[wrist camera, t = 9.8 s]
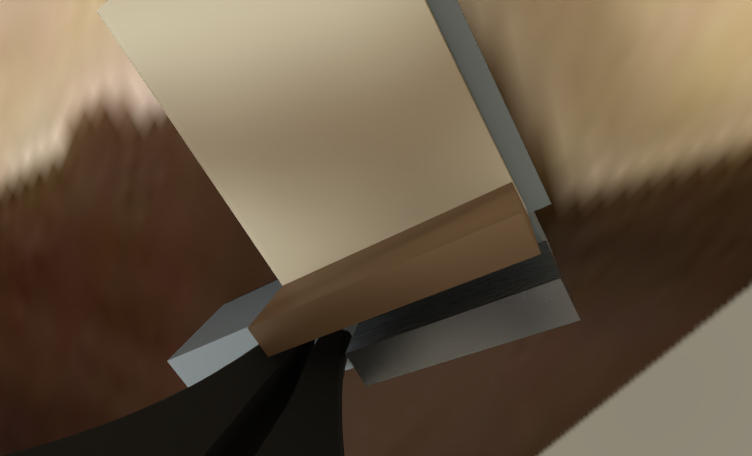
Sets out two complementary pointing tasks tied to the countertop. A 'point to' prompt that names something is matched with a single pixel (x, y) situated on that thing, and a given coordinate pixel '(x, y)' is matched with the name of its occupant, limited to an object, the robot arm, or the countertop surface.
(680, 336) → the countertop surface
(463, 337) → the grey rectangular bar
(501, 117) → the box
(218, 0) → the lid
